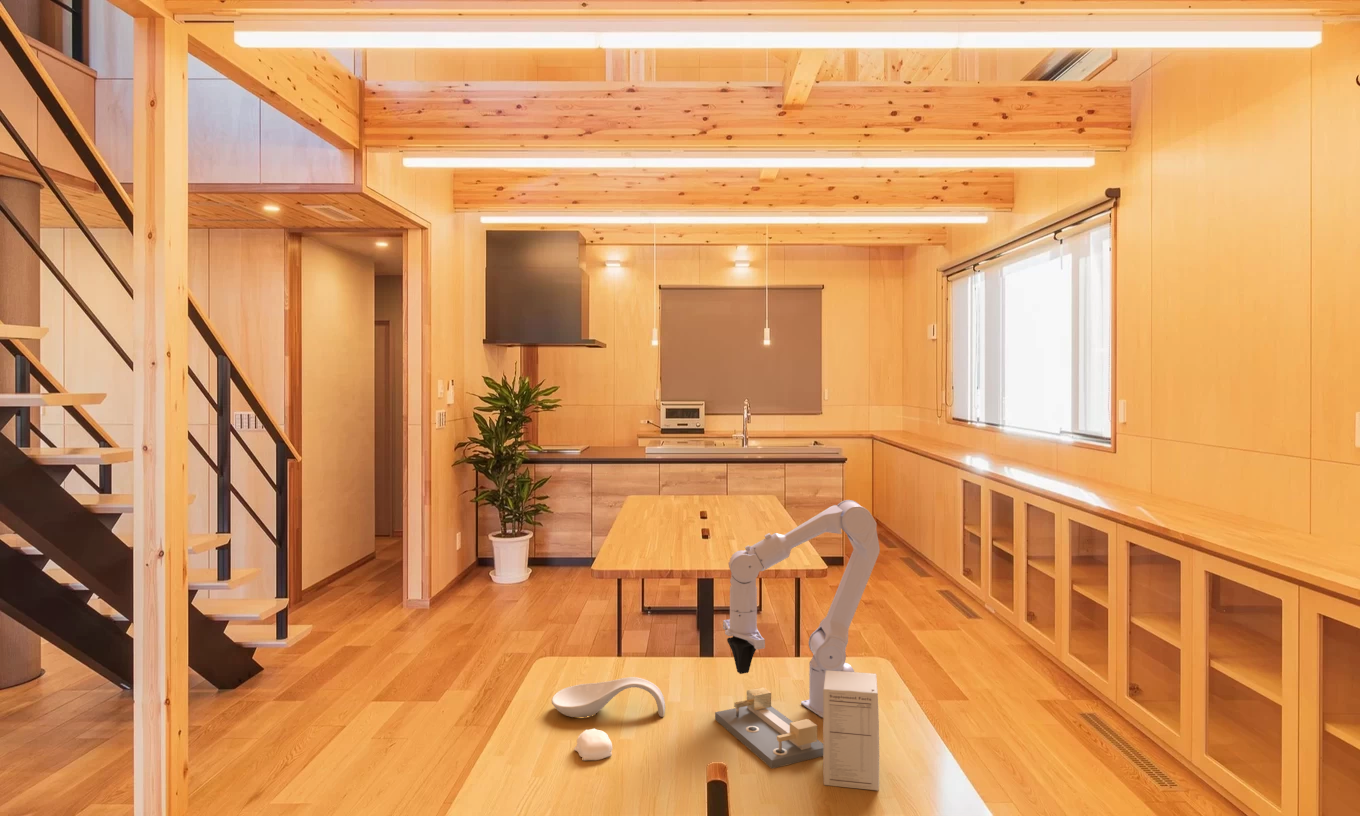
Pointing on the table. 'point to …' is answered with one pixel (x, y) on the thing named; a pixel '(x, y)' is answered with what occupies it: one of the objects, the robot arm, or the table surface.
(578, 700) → the spoon rest
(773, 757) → the plate
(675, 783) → the table surface
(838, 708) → the supplement box
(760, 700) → the sliding trammel head
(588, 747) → the white rounded lump
